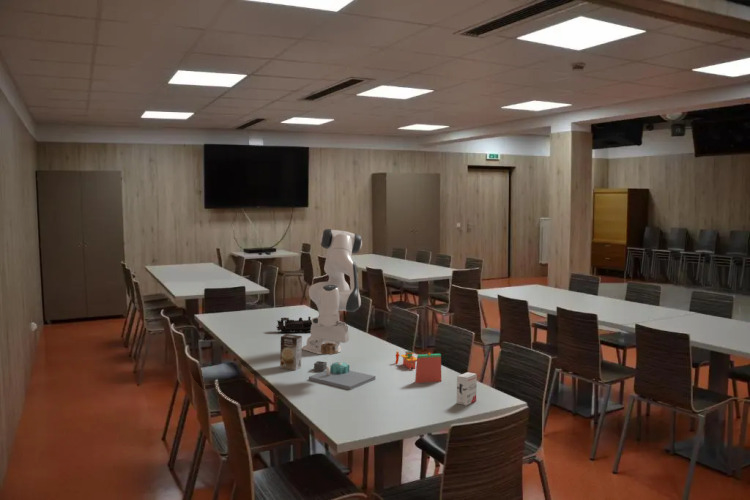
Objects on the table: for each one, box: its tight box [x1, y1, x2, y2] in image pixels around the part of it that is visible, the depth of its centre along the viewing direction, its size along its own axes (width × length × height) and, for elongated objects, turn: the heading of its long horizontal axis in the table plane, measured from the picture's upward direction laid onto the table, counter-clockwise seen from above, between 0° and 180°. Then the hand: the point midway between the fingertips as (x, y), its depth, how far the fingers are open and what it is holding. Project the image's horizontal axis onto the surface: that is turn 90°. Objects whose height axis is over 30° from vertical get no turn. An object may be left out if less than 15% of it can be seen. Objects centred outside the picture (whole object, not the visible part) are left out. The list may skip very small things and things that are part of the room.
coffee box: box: [279, 333, 303, 371], centre depth 292 cm, size 9×6×16 cm
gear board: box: [308, 361, 376, 391], centre depth 275 cm, size 24×20×6 cm
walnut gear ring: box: [321, 343, 339, 356], centre depth 274 cm, size 6×7×4 cm
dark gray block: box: [313, 360, 328, 373], centre depth 290 cm, size 5×5×4 cm
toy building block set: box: [394, 350, 442, 384], centre depth 290 cm, size 12×35×14 cm, turn 17°
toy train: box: [276, 316, 312, 334], centre depth 372 cm, size 8×25×10 cm, turn 100°
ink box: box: [456, 372, 478, 406], centre depth 247 cm, size 8×5×12 cm, turn 140°
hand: (329, 349), depth 274 cm, fingers closed on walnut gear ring, 6 cm apart
